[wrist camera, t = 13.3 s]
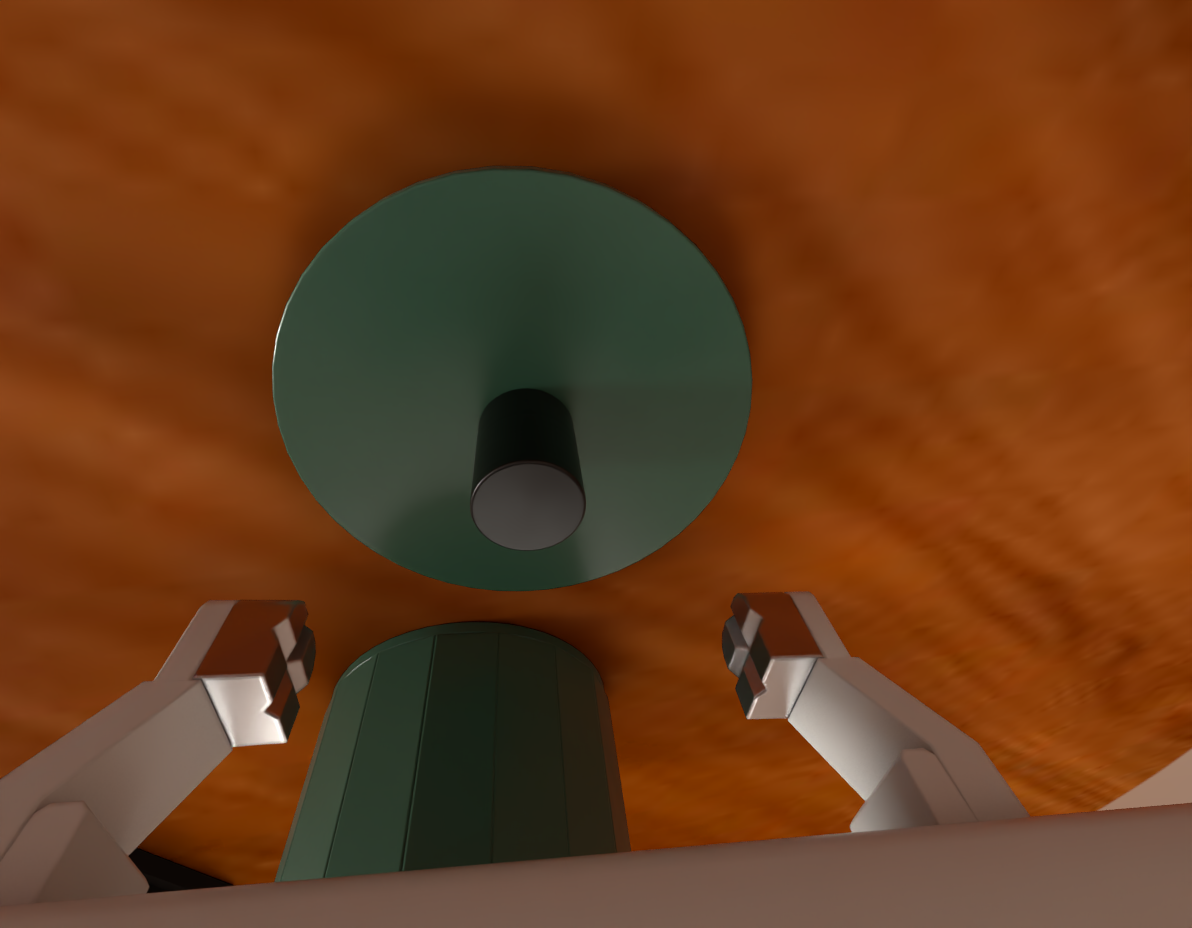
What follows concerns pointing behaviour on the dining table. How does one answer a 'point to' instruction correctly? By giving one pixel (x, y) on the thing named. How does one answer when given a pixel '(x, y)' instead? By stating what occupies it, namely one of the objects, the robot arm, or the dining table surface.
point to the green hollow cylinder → (459, 758)
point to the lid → (512, 378)
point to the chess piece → (170, 874)
